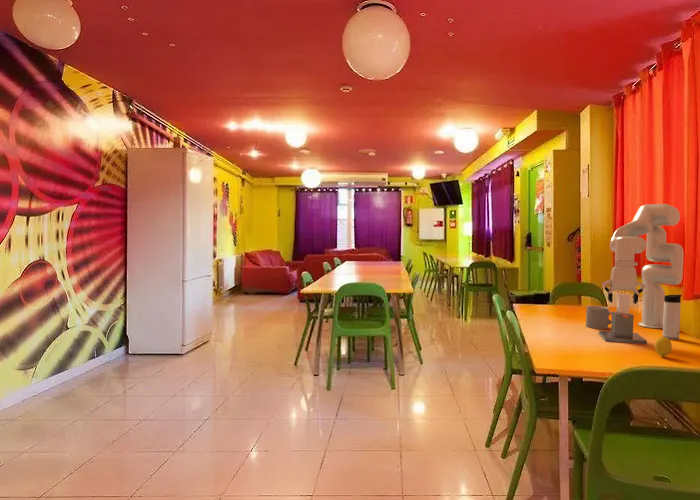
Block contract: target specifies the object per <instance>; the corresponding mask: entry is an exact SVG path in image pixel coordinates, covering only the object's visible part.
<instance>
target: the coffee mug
mask: <svg viewBox="0 0 700 500" xmlns="http://www.w3.org/2000/svg"><path fill="white" fill-rule="evenodd" d="M585 311H586V312H585V313H586V314H585V319H586V320H585V327H586V328H590V329H595V330H597V329H598V330H607V329H609V325H611V324H612V319H609V317H610V315H612V312H613V311H611V310H610V308H609V307H608V306H607V307H606V306H601V305H586V310H585Z"/></svg>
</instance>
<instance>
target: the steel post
mask: <svg viewBox="0 0 700 500" xmlns="http://www.w3.org/2000/svg"><path fill="white" fill-rule="evenodd" d="M616 295H617V296H616V312H617V314H627V315H629V313H630V295H629V294H616Z"/></svg>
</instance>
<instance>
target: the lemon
mask: <svg viewBox="0 0 700 500" xmlns="http://www.w3.org/2000/svg"><path fill="white" fill-rule="evenodd" d="M654 349H655V352H656V353H657V354H658V355H660V356H661V357H663V358H664V357H666V356H668V355H670V354H671V352H672V349H673V345H672V342H671V340H670V339H668V338H666V337H664V336H663V335H662V336H661V337H659V338H657V339H656V340H655V343H654Z"/></svg>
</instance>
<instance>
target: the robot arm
mask: <svg viewBox="0 0 700 500" xmlns="http://www.w3.org/2000/svg"><path fill="white" fill-rule="evenodd" d="M680 219H681V214H680V211H679V210H678V208H677V207H675V206H673V205H671V204H667V203H655V204H654V203H651V204H649V203H648V204H643V205H641V206H639V208H638V209H637V211H636V212H635V215H634V216H633V219H632V220H631V222H628V223H626V224H624V225H623V226H622V225H621V226H620V227H619V228H617V229H616V230H615V231H614V233H613V235H612V237H611V238H610V242H609V248H610V250H611V251H612V252H614V254H615V255H614V266H612V268H611V272H610V279H608V280H606V281H604V282H602V283H601V285H602V287H603V289H604V290H605V292H607V300H608V301H609V303H613V299H614V298H613V292H614V291H615V290H616V291H617V290H618V291H632V292H633V296H632V297H633V298H632V303H633V304H635V305H637V304H638V302H639V295H640V294H641V293H642V306H641V307H642V308H641V309H642V310H641V311H642V312H641V321H638V326H639V327H643V328H649V329H663V316H664V300H665V299H664V297H665V296H666V293H665V290H664V288H663V286H661V285H672V286H673V285H674V286H675V285H679V284H681V283H682V280H683V274H684V254H685V253H684V248H683V246H682V245H681V244H679V243H671V242H670V243H668V242H667V232H666V230H665V229H664V227H663V226H677V224H678V223H680ZM645 234H646V240H645V239H644V238H643V237H641V236H643V235H645ZM644 251H645V256H646V257H645V258H646V260H648V262H649V261H650V262H654V263H655V262H656V263H658V262H659V263H669V264H668V265H667V264H654V263H653V264H651V263H650V264H646V265H644V266H643V267H642V268H641V279H642V281H641V282H640V281H639V280H638V278H637V277H638V276H637V270H636V267H635V266H638V263H639V262H638V261H637V262H636V261H635V254H641V253H642V252H644ZM607 285H609V288H608V287H607ZM638 286H640V287H639V289H637V287H638Z"/></svg>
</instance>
